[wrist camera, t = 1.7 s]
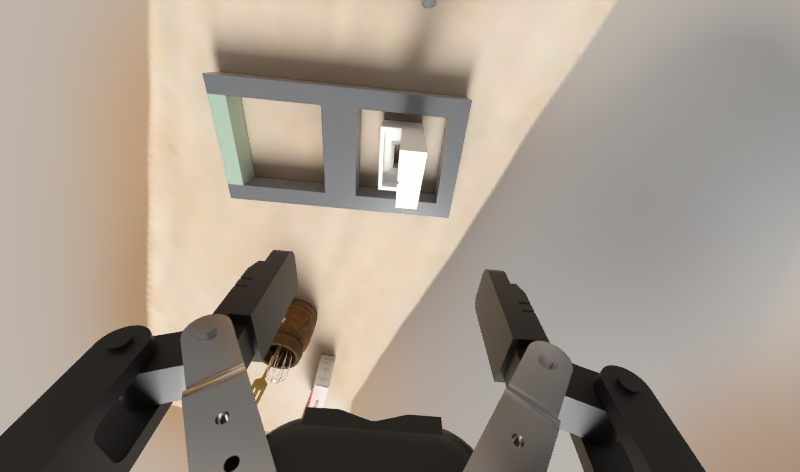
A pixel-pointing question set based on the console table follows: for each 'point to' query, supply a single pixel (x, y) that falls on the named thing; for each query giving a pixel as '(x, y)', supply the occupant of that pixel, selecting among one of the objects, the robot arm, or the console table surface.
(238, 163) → the port panel
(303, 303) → the utensil holder
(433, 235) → the console table surface
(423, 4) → the gun
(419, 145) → the white wedge bracket
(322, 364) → the ink cartridge box
